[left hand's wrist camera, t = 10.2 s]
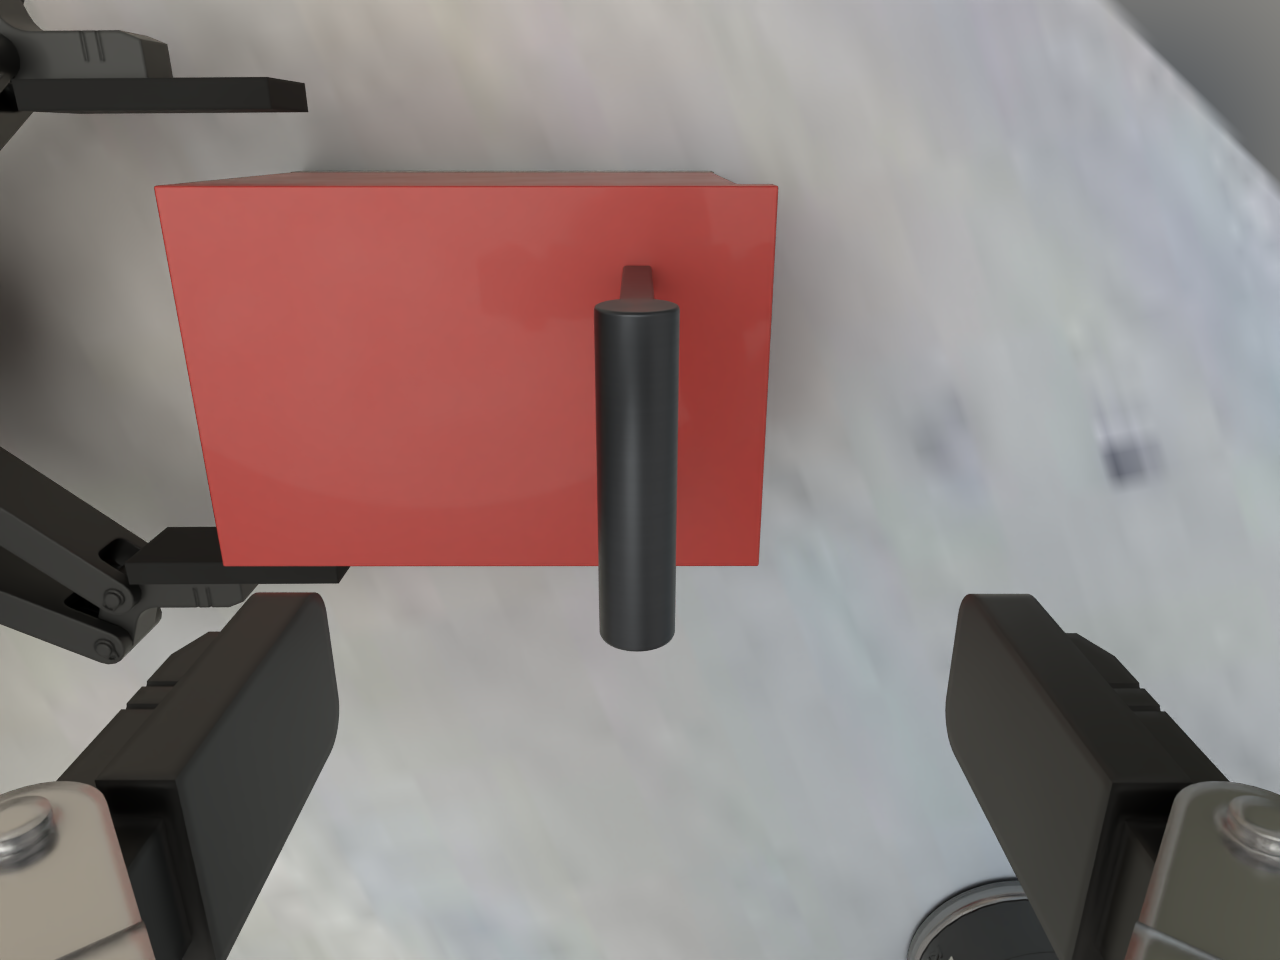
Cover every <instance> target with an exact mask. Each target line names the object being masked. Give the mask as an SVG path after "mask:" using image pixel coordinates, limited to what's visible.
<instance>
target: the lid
mask: <svg viewBox="0 0 1280 960" xmlns="http://www.w3.org/2000/svg"><path fill="white" fill-rule="evenodd" d="M154 190H155V195H156V201H157V206H158V212H159V217H160V222H161V228H162V233H163V239H164V244H165V250H166V255H167V261H168V266H169V271H170V277H171V282H172V288H173V293H174V299H175V304H176V310H177V315H178V321H179V326H180V331H181V337H182V342H183V348H184V353H185V359H186V364H187V370H188V375H189V380H190V386H191V391H192V397H193V402H194V408H195V413H196V419H197V424H198V429H199V435H200V440H201V446H202V451H203V457H204V462H205V468H206V473H207V478H208V484H209V489H210V495H211V500H212V506H213V511H214V517H215V522H216V528H217V533H218V538H219V544H220V549H221V555H222V560H223V565H224V566H599V621H600V635H601V637H602V638H603V640H604V641H605V642H606V643H607V644H609V645H611V646H613V647H615V648H618V649H621V650H626V651H648V650H653V649H657V648H659V647H662V646H664V645H665V644H667V643H668V642H669V641H670V640H671V639H672V637H673V636H674V633H675V586H676V566H758V564H759V547H760V528H761V508H762V489H763V470H764V451H765V432H766V413H767V394H768V374H769V355H770V336H771V317H772V298H773V279H774V260H775V240H776V221H777V202H778V186H776V185H773V184H168V185H158V186H155V187H154Z"/></svg>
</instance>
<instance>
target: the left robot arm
mask: <svg viewBox="0 0 1280 960" xmlns="http://www.w3.org/2000/svg"><path fill="white" fill-rule="evenodd" d="M945 711H946V726H947V733H948V738H949V741H950V745H951V748H952V750H953V753H954V755H955V757H956V759H957V761H958V763H959V765H960V767H961V769H962V771H963V773H964V775H965V776H966V778H967V780H968V782H969V784H970V786H971V788H972V790H973V792H974V794H975V796H976V798H977V800H978V802H979V804H980V806H981V808H982V810H983V812H984V814H985V816H986V818H987V820H988V822H989V823H990V825H991V827H992V829H993V831H994V833H995V835H996V837H997V839H998V841H999V843H1000V845H1001V847H1002V849H1003V851H1004V853H1005V855H1006V857H1007V859H1008V861H1009V863H1010V865H1011V867H1012V869H1013V871H1014V872H1015V874H1016V876H1017V878H1018V880H1019V881H1004V882H996V883H991V884H987V885H983V886H979V887H976V888H973V889H971V890H968V891H966V892H963V893H961V894H959V895H957V896H955V897H953V898H952V899H950V900H948V901H947V902H945V903H944V904H942V905H941V906H940V907H938V908H937V909H936V910H935V911H933V912H932V913H931V914H930V915H929V916H928V917H927V918H926V919H925V921H924V922H923V923H922V924H921V926H920V927H919V928H918V930H917V932H916V933H915V935H914V937H913V939H912V941H911V944H910V947H909V950H908V956H907V960H1280V795H1278V794H1276V793H1273V792H1271V791H1268V790H1264V789H1261V788H1258V787H1254V786H1250V785H1245V784H1241V783H1234V782H1230V781H1229V780H1228V779H1227V778H1226V777H1225V776H1224V775H1223V774H1222V773H1221V772H1220V771H1219V770H1218V768H1217V767H1216V766H1215V765H1214V764H1213V763H1212V762H1211V761H1210V760H1209V759H1208V758H1207V756H1206V755H1205V754H1204V753H1203V752H1202V751H1201V750H1200V749H1199V748H1198V747H1197V746H1196V744H1195V743H1194V742H1193V741H1192V740H1191V739H1190V738H1189V737H1188V736H1187V735H1186V734H1185V732H1184V731H1183V730H1182V729H1181V728H1180V727H1179V726H1178V725H1177V724H1176V723H1175V722H1174V720H1173V719H1172V718H1171V717H1170V716H1169V715H1168V714H1167V713H1166V712H1161V711H1160V705H1159V704H1158V703H1157V702H1156V701H1155V700H1154V699H1153V698H1152V696H1151V695H1150V694H1149V693H1148V692H1147V691H1146V690H1145V689H1140V687H1139V682H1138V681H1137V680H1136V679H1135V678H1134V677H1133V676H1132V675H1131V674H1130V672H1129V671H1128V670H1127V669H1126V668H1125V667H1124V666H1123V665H1122V664H1121V663H1120V662H1119V660H1118V659H1117V658H1116V657H1115V656H1113V655H1112V654H1110V653H1108V652H1107V651H1105V650H1103V649H1102V648H1100V647H1098V646H1097V645H1095V644H1093V643H1092V642H1090V641H1088V640H1087V639H1085V638H1084V637H1082V636H1080V635H1079V634H1077V633H1065V632H1064V631H1063V630H1062V629H1061V628H1060V627H1059V625H1058V624H1057V623H1056V622H1055V621H1054V620H1053V618H1052V617H1051V616H1050V615H1049V614H1048V613H1047V611H1046V610H1045V609H1044V608H1043V607H1042V606H1041V604H1040V603H1039V602H1038V601H1037V600H1036V599H1035V598H1034V597H1033V596H1032V595H1030V594H968V595H966V596H965V597H964V599H963V600H962V602H961V605H960V608H959V613H958V620H957V627H956V634H955V640H954V647H953V654H952V661H951V668H950V675H949V682H948V689H947V696H946V709H945ZM338 721H339V698H338V690H337V683H336V676H335V669H334V662H333V655H332V648H331V641H330V634H329V627H328V620H327V613H326V608H325V604H324V601H323V599H322V597H321V596H320V595H319V594H318V593H255V594H253V595H252V596H251V597H250V598H249V599H248V600H247V601H246V602H245V603H244V605H243V606H242V607H241V608H240V609H239V610H238V612H237V613H236V614H235V615H234V616H233V618H232V619H231V620H230V621H229V622H228V623H227V625H226V626H225V627H224V628H223V629H222V630H221V632H208V633H206V634H204V635H203V636H201V637H199V638H198V639H196V640H194V641H193V642H191V643H189V644H188V645H186V646H184V647H183V648H181V649H180V650H178V651H176V652H175V653H173V654H171V655H170V656H169V657H168V659H167V660H166V661H165V662H164V663H163V664H162V665H161V666H160V667H159V669H158V670H157V671H156V672H155V673H154V674H153V675H152V676H151V677H150V678H149V680H148V681H147V686H146V687H141V688H140V689H139V691H138V692H137V693H136V694H135V695H134V696H133V697H132V698H131V699H130V700H129V702H128V703H127V707H126V709H121V710H120V711H119V713H118V714H117V715H116V716H115V717H114V718H113V719H112V720H111V721H110V722H109V724H108V725H107V726H106V727H105V728H104V729H103V730H102V731H101V732H100V733H99V735H98V736H97V737H96V738H95V739H94V740H93V741H92V742H91V743H90V744H89V746H88V747H87V748H86V749H85V750H84V751H83V752H82V753H81V754H80V755H79V757H78V758H77V759H76V760H75V761H74V762H73V763H72V764H71V765H70V766H69V768H68V769H67V770H66V771H65V772H64V773H63V774H62V775H61V776H60V777H59V779H58V780H57V781H54V782H46V783H39V784H35V785H30V786H26V787H22V788H19V789H16V790H12V791H9V792H7V793H4V794H2V795H0V960H226V959H227V957H228V955H229V953H230V951H231V949H232V947H233V945H234V943H235V941H236V939H237V937H238V935H239V933H240V931H241V929H242V927H243V925H244V923H245V921H246V919H247V917H248V915H249V913H250V911H251V909H252V907H253V905H254V903H255V901H256V899H257V897H258V895H259V893H260V891H261V889H262V887H263V885H264V883H265V881H266V879H267V878H268V876H269V874H270V872H271V870H272V868H273V866H274V864H275V862H276V860H277V858H278V856H279V854H280V852H281V850H282V848H283V846H284V844H285V842H286V840H287V838H288V836H289V834H290V832H291V830H292V828H293V826H294V824H295V822H296V820H297V818H298V816H299V814H300V812H301V810H302V808H303V806H304V804H305V802H306V800H307V798H308V796H309V794H310V792H311V790H312V788H313V786H314V784H315V782H316V780H317V778H318V776H319V774H320V772H321V770H322V768H323V766H324V764H325V762H326V761H327V759H328V757H329V755H330V753H331V750H332V748H333V745H334V742H335V738H336V734H337V729H338Z"/></svg>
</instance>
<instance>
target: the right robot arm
mask: <svg viewBox="0 0 1280 960" xmlns="http://www.w3.org/2000/svg"><path fill="white" fill-rule="evenodd" d="M23 3H24V0H0V150H1V149H2V148H3V147H4V145H5V144H6V143H7V142H8V141H9V140H10V138H11V137H12V136H13V135H14V134H15V133H16V131H17V130H18V129H19V128H20V127H21V126H22V124H23V123H24V122H25V121H26V120H27V119H28V117H29V116H30V115H31V114H32V113H33V112H54V113H76V114H103V113H248V112H308V107H307V99H306V91H305V83H300V82H294V81H288V80H282V79H276V78H269V77H214V78H173V75H172V69H171V63H170V58H169V52H168V46H167V44H165V43H163V42H160V41H158V40H155V39H153V38H150V37H148V36H144V35H139V34H134V33H129V32H125V31H120V30H102V31H43V30H41V29H40V28H39V27H38V26H37V25H36V24H35V23H34V22H33V20H32V19H31V17H30V16H29V14H28V13H27V11H26V9H25V7H24V5H23ZM349 567H350V566H224V565H223V560H222V555H221V549H220V544H219V538H218V533H217V528H216V527H167V528H166V529H165V530H164V531H162V532H161V533H160V534H159V535H157V536H156V537H155V538H154V539H153V540H151V541H150V542H149V543H147V542H145V541H144V540H142V539H141V538H139V537H138V536H136V535H135V534H133V533H132V532H130V531H129V530H127V529H125V528H124V527H122V526H121V525H119V524H118V523H116V522H115V521H113V520H112V519H110V518H109V517H107V516H106V515H104V514H103V513H101V512H99V511H98V510H96V509H95V508H93V507H92V506H90V505H89V504H87V503H86V502H84V501H83V500H81V499H80V498H78V497H77V496H75V495H73V494H72V493H70V492H69V491H67V490H66V489H64V488H63V487H61V486H60V485H58V484H57V483H55V482H54V481H52V480H51V479H49V478H47V477H46V476H44V475H43V474H41V473H40V472H38V471H37V470H35V469H34V468H32V467H31V466H29V465H28V464H26V463H25V462H23V461H21V460H20V459H18V458H17V457H15V456H14V455H12V454H11V453H9V452H8V451H6V450H5V449H3V448H2V447H0V624H1V625H4V626H7V627H9V628H12V629H14V630H17V631H20V632H22V633H25V634H28V635H30V636H33V637H35V638H38V639H41V640H43V641H46V642H48V643H51V644H54V645H56V646H59V647H61V648H64V649H67V650H69V651H72V652H75V653H77V654H80V655H82V656H85V657H88V658H90V659H93V660H95V661H98V662H101V663H105V664H115V663H117V662H119V661H120V660H122V659H123V658H124V657H125V656H126V655H127V654H128V653H129V652H130V651H131V650H132V649H133V648H134V647H135V646H136V645H137V644H138V643H139V642H140V641H141V640H142V639H143V638H144V637H145V636H146V635H147V634H148V633H149V632H150V631H151V629H152V628H153V627H154V626H155V625H156V624H157V623H158V622H159V621H160V619H161V615H162V612H161V609H160V608H161V607H211V606H212V607H231V606H233V605H236V604H238V603H241V602H243V601H244V600H245V599H246V598H247V597H248V596H249V594H250V593H251V592H252V591H253V590H254V589H255V587H256V586H257V585H258V584H313V583H339V582H340V581H341V579H342V578H343V576H344V575H345V573H346V572H347V570H348V569H349Z"/></svg>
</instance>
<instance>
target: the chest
mask: <svg viewBox="0 0 1280 960" xmlns="http://www.w3.org/2000/svg"><path fill="white" fill-rule="evenodd" d="M180 184H735V183H733V182H731V181H729V180H727V179H724V178H722V177H720V176H718V175H716V174H714V172H712V171H297V172H291V173H282V174H272V175H262V176H251V177H241V178H231V179H221V180H210V181H200V182H190V183H180Z"/></svg>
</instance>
